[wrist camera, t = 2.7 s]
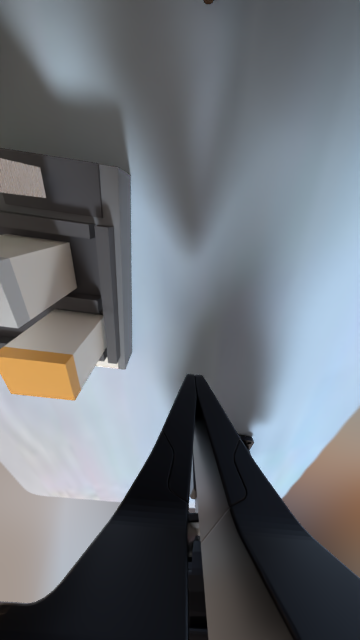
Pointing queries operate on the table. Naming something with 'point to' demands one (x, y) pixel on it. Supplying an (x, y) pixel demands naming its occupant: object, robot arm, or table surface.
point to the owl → (208, 1)
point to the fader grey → (32, 277)
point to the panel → (81, 241)
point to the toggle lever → (21, 179)
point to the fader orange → (54, 355)
